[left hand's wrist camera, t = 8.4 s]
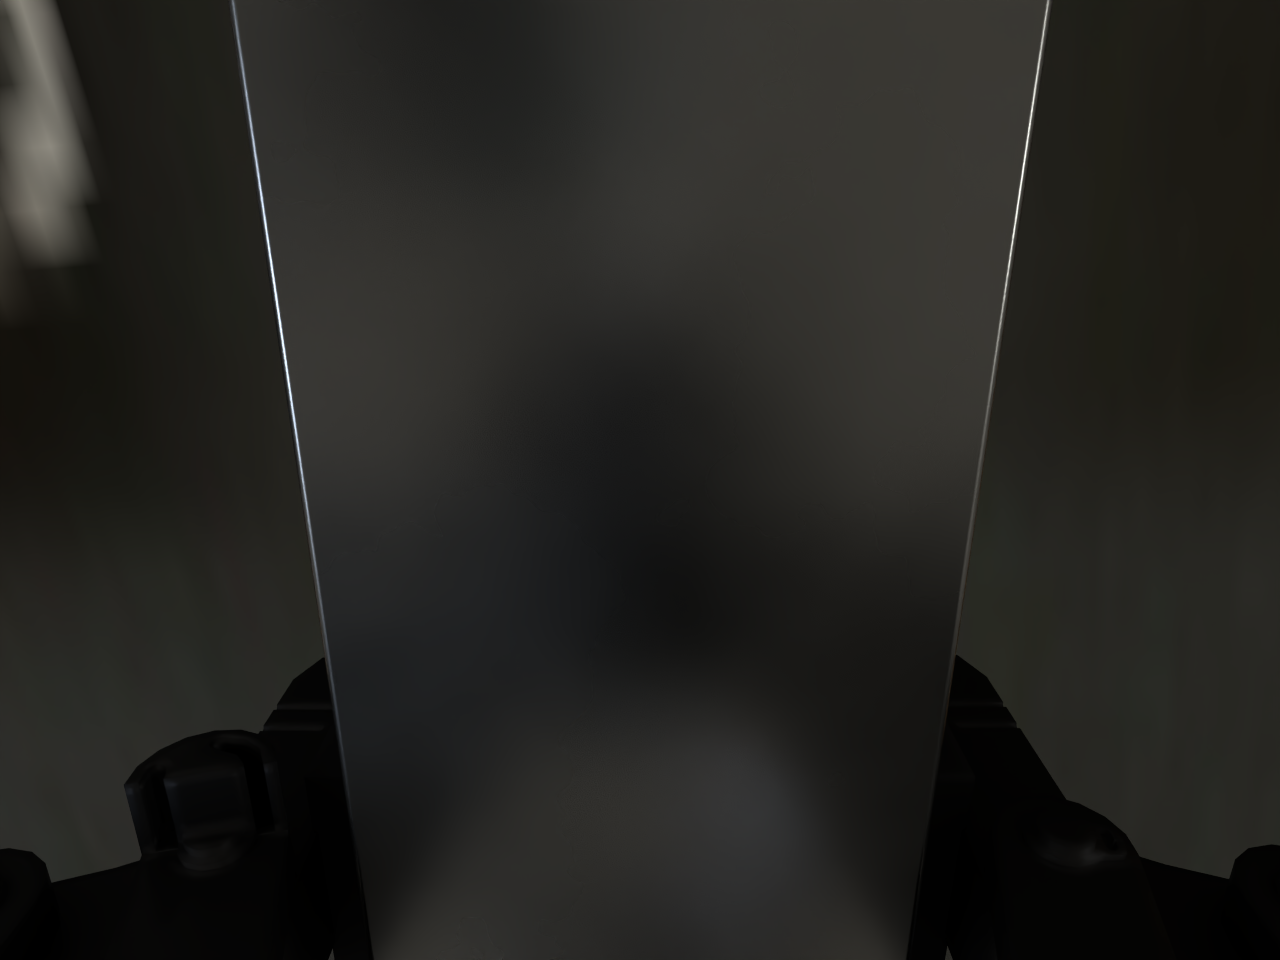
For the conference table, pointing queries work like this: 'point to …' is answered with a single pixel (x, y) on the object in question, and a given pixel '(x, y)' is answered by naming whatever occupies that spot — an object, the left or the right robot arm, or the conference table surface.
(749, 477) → the bar
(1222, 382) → the conference table surface
